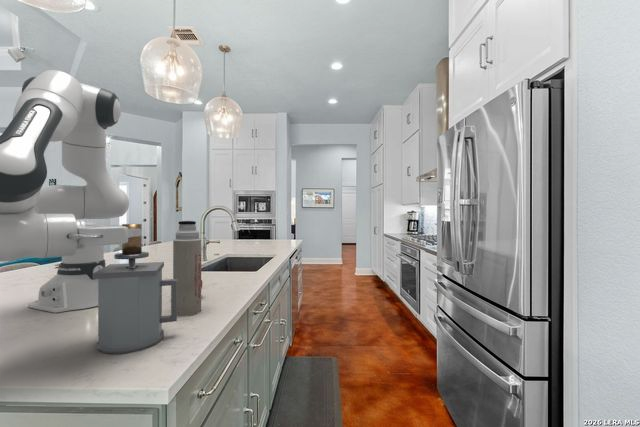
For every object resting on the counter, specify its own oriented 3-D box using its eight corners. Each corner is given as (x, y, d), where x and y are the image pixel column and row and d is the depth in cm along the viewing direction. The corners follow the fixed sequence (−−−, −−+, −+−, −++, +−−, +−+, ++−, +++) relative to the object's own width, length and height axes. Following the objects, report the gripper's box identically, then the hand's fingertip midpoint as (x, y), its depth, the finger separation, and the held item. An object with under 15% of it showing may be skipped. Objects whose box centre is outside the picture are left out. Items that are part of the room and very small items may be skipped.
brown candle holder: (100, 312, 68) (100, 225, 68) (113, 299, 78) (113, 223, 77) (151, 307, 71) (151, 225, 71) (158, 296, 81) (158, 223, 81)
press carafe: (87, 358, 66) (87, 274, 66) (107, 333, 79) (107, 263, 79) (173, 347, 71) (174, 270, 71) (179, 326, 84) (179, 260, 84)
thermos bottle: (206, 308, 99) (206, 220, 99) (191, 317, 92) (191, 221, 91) (183, 306, 101) (184, 220, 101) (167, 315, 93) (167, 221, 93)
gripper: (74, 220, 58) (153, 219, 68) (52, 218, 71) (121, 217, 81) (75, 255, 58) (153, 248, 68) (52, 246, 71) (121, 242, 82)
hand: (136, 231), depth 75 cm, fingers closed on brown candle holder, 4 cm apart
